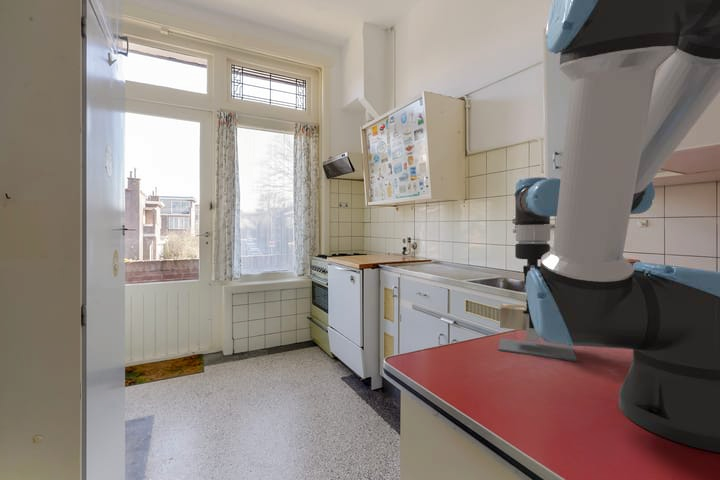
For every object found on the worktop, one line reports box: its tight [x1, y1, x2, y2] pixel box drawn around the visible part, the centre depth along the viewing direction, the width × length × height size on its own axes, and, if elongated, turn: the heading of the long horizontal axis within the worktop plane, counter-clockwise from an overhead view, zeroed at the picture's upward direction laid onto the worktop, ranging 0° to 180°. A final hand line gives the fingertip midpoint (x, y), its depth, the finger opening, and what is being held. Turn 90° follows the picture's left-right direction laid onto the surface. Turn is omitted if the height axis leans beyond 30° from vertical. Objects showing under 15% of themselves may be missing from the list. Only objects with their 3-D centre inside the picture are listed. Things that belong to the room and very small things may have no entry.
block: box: [499, 303, 527, 332], centre depth 82 cm, size 5×5×12 cm
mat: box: [497, 337, 578, 362], centre depth 80 cm, size 9×16×1 cm, turn 63°
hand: (532, 337), depth 81 cm, fingers closed on block, 5 cm apart
